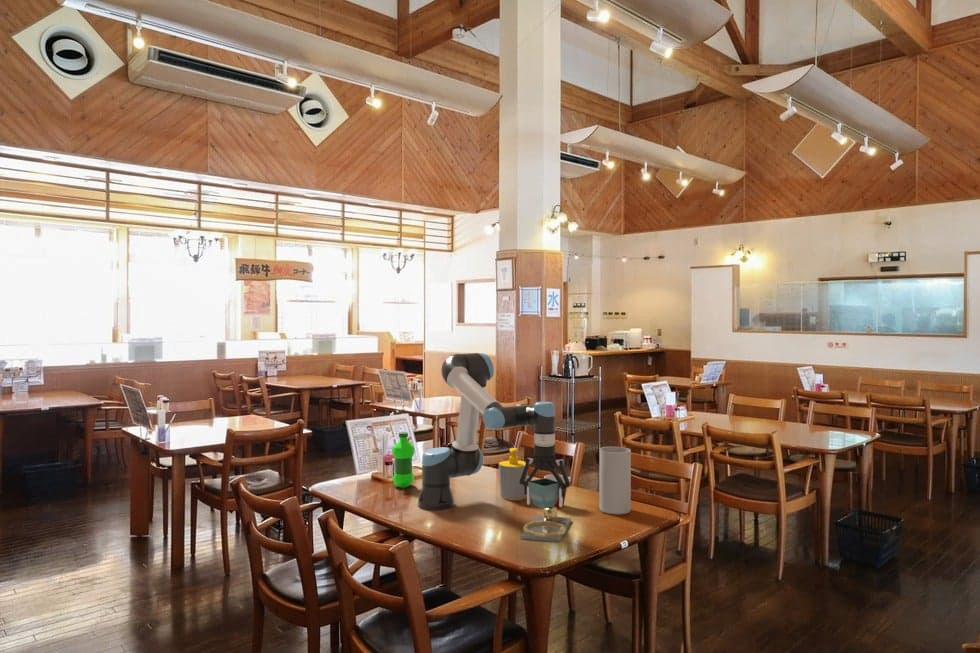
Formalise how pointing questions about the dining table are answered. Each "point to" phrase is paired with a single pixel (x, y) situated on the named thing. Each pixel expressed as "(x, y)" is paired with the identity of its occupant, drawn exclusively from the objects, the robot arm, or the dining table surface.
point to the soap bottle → (512, 477)
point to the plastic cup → (556, 480)
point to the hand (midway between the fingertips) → (544, 504)
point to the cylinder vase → (615, 480)
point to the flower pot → (544, 492)
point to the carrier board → (546, 527)
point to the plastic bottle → (403, 461)
